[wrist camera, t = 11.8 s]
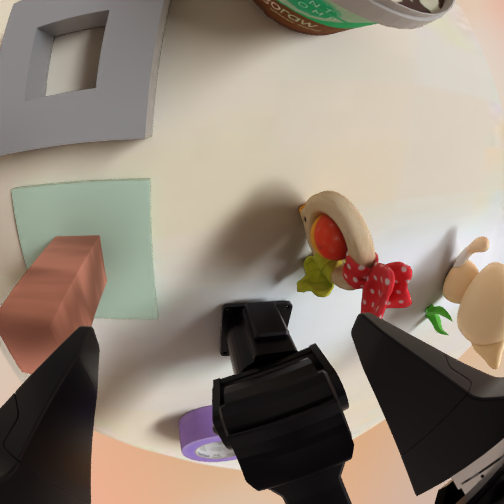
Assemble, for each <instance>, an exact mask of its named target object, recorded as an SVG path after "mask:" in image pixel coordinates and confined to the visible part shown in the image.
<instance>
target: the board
mask: <svg viewBox="0 0 504 504" xmlns="http://www.w3.org/2000/svg"><path fill="white" fill-rule="evenodd" d="M150 180H151V178H142V179H110V180H90V181H75V182H63V183H52V184H42V185H33V186H24V187H16V188H14V189H12V190H11V192H12V200H13V207H14V213H15V219H16V225H17V230H18V235H19V240H20V244H21V248H22V253H23V257H24V260H25V264H26V268H27V270H28V269H29V267H30V266H31V265H32V264H33V262H34V261H35V260H36V259H37V258H38V256H39V255H40V254H41V253H42V252H43V250H44V249H45V248H46V247H47V246H48V245H49V243H50V242H51V241H52V240H53V239H54V238H55V237H56V236H86V235H100V240H101V247H102V254H103V260H104V266H105V272H106V277H107V283H106V285H105V288H104V291H103V293H102V296H101V299H100V302H99V305H98V307H97V310H96V313H95V316H94V318H111V319H158V311H157V302H156V292H155V281H154V269H153V255H152V236H151V200H150Z"/></svg>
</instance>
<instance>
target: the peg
mask: <svg viewBox="0 0 504 504" xmlns="http://www.w3.org/2000/svg"><path fill="white" fill-rule="evenodd" d="M106 283H107V277H106V272H105V266H104V260H103V254H102V247H101V240H100V235H86V236H56V237H55V238H54V239H53V240H52V241H51V242H50V243H49V245H48V246H47V247H46V248H45V249H44V250H43V252H42V253H41V254H40V255H39V256H38V258H37V259H36V260H35V261H34V262H33V264H32V265H31V266H30V267H29V269H28V270H27V271H26V273H25V274H24V275H23V277H22V278H21V279H20V281H19V282H18V283H17V285H16V286H15V287H14V289H13V290H12V292H11V293H10V294H9V296H8V297H7V299H6V300H5V302H4V303H3V305H2V306H1V308H0V335H1V337H2V339H3V341H4V343H5V345H6V346H7V348H8V350H9V352H10V353H11V355H12V357H13V358H14V360H15V362H16V363H17V365H18V367H19V368H20V370H21V371H22V372H25V373H29V374H32V373H33V372H34V371H35V370H36V369H37V368H38V367H39V366H40V365H41V364H42V363H43V362H44V361H45V360H46V359H47V358H48V357H49V356H50V355H51V354H52V353H53V352H54V351H55V350H56V349H57V348H58V347H59V346H60V345H61V344H62V343H63V342H64V341H65V340H66V339H67V338H68V337H69V336H70V335H71V334H72V333H73V332H74V331H75V330H76V329H77V328H78V327H80V326H91V325H92V322H93V319H94V316H95V313H96V310H97V307H98V305H99V302H100V299H101V296H102V293H103V291H104V288H105V285H106Z"/></svg>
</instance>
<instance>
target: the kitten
mask: <svg viewBox="0 0 504 504" xmlns="http://www.w3.org/2000/svg"><path fill="white" fill-rule="evenodd" d="M488 248H489V240H488V239H487V238H486V237H479V238H477V239H475V240H474V241H473V242H472V243H471V244H470V245H468V246H467V247H466V248H465V249H464V250H463V251H462V252H461V253H460V254H459V256H458V257H457V259H456V261H455V263H454V265H453V267H452V268H451V270H450V271H449V273H448V275H447V277H446V279H445V282H444V286H443V295H444V297H445V298H446V299H447V300H449V301H450V302H453V303H457V304H460V306H459V310H458V315H457V324H458V328H459V330H460V332H461V333H462V334H463V335H464V337H465V338H466V339H468V340H469V341H470V342H471V343H472V346H473V347H474V349H475V351H476V352H477V353H478V354H479V355H481V357H483V359H484V360H485V361H486V362H487V364H488V365H489V366H490V367H491V368H493V369H497V368H498V367H499V364H500V361H501V357H502V354H503V350H504V265H503V264H501V263H498V262H494V263H490V264H489V265H487V266H486V267H484V268H483V269H482V270H481V271H480V272H478V269H477V268H476V266H475V265H474V264H473V263H472V262H471V261H470V260H468V258H469V257H470V256H471V255H472V254H473V253H476V252H485V251H487V250H488ZM426 313H427V315H426V317H427V318H428V319H429V320H430V321H431V323H432V324H433V326H434V328H435V330H436V331H437V332H438V333H440V334H444V335H448V334H447V333H446V332H445V331H444V330H443V329H442V326H441V320H440V317H439V315H442V316H444V317H446V318H448V319H449V320H451V321H452V319H451V316H450V315H449V313H448V312H447V311H446V310H445V309H444V308H443V307H441V306H437V307H434V306H433V305H431V306H430V307H429V308H426ZM438 314H439V315H438Z"/></svg>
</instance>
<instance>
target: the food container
mask: <svg viewBox="0 0 504 504" xmlns="http://www.w3.org/2000/svg"><path fill="white" fill-rule="evenodd" d="M253 1H254V2H255V3H256V5H257V6H258V7H259V8H260V9H261V10H262V11H263V12H264V13H265V14H266V15H267V16H268V17H270V18H271V19H273V20H274V21H276V22H277V23H279V24H280V25H282V26H284V27H286V28H288V29H291V30H294V31H297V32H300V33H304V34H310V35H329V34H334V33H338V32H341V31H345V30H349V29H354V28H358V27H363V26H367V25H372V24H381V25H385V26H388V27H393V28H399V29H414V28H418V27H422V26H424V25H426V24H428V23H430V22H432V21H434V20H436V19H438V18H441V17H442V16H443V15H444V14H445V13H446V12H448V11H449V10H450V9H451V8H452V6H453V4H454V2H455V0H253Z"/></svg>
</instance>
